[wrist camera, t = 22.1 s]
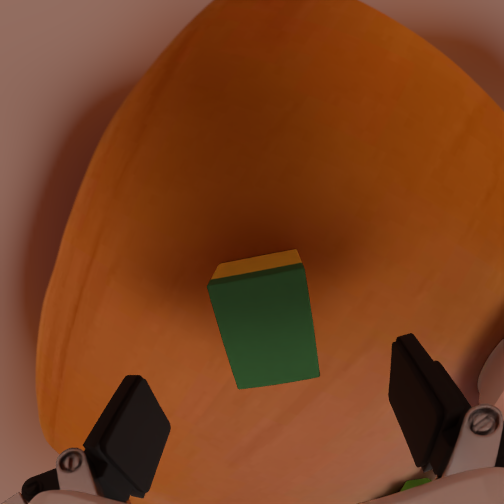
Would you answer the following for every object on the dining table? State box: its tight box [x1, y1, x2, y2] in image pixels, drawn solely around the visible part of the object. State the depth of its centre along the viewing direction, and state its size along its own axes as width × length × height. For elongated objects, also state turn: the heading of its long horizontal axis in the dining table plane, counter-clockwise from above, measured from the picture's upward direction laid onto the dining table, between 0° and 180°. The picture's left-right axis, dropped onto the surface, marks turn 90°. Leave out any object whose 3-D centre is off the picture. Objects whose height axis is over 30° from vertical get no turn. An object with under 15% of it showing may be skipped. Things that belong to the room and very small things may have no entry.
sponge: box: [207, 249, 320, 389], centre depth 17 cm, size 7×5×4 cm
